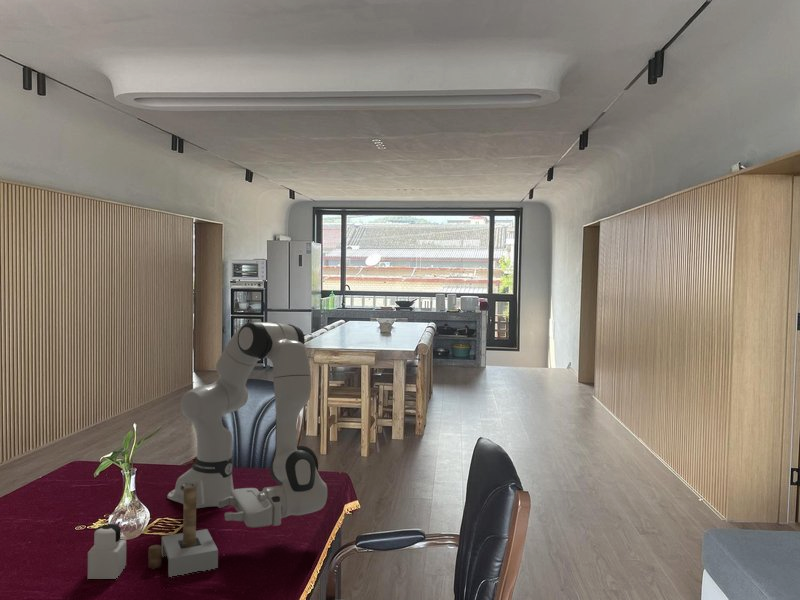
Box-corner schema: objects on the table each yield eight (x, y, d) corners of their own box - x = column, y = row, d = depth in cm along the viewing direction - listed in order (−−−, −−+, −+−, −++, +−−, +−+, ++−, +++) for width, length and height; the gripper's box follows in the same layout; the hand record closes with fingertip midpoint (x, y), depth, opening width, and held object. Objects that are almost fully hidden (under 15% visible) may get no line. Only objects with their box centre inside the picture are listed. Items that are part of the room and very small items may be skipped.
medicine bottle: (98, 566, 166) (98, 521, 165) (126, 566, 166) (126, 521, 165) (86, 580, 158) (87, 533, 158) (116, 580, 159) (117, 533, 158)
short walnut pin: (145, 567, 166) (145, 548, 165) (154, 562, 169) (154, 543, 168) (155, 570, 165) (155, 551, 164) (164, 565, 168) (164, 546, 167)
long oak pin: (180, 562, 169) (181, 488, 168) (188, 557, 172) (189, 484, 171) (189, 565, 168) (191, 490, 167) (197, 560, 171) (199, 486, 170)
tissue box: (161, 554, 173) (161, 536, 173) (206, 546, 179) (207, 528, 179) (169, 577, 161) (169, 558, 161) (217, 568, 167) (218, 549, 166)
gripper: (261, 480, 188) (213, 486, 182) (282, 504, 170) (229, 512, 164) (261, 501, 189) (213, 508, 182) (281, 527, 171) (229, 536, 164)
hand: (221, 510), depth 173 cm, fingers open, 8 cm apart
